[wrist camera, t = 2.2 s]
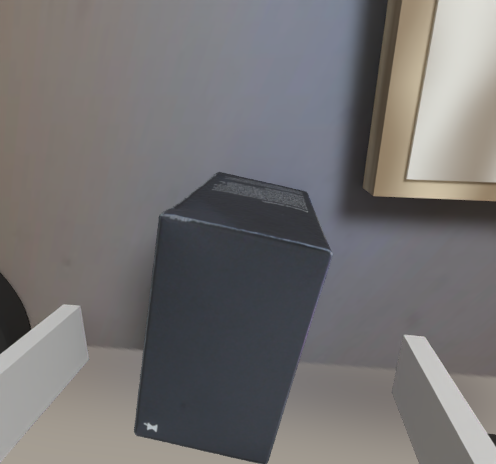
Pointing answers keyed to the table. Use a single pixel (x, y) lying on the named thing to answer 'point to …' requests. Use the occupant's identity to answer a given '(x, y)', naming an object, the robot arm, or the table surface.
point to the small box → (229, 315)
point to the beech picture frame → (435, 102)
